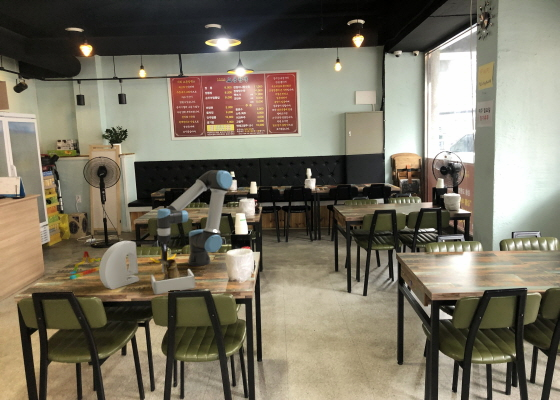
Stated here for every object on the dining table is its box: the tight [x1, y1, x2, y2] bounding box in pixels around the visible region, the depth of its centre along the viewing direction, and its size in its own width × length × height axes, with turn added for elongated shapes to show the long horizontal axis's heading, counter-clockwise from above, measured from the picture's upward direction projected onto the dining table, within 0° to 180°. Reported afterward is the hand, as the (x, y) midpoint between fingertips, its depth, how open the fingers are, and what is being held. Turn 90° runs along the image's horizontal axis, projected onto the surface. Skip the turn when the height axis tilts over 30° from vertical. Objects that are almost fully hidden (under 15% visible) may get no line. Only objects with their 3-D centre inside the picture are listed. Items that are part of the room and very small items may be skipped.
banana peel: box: [149, 250, 177, 264], centre depth 298 cm, size 17×19×17 cm
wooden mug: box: [157, 258, 180, 280], centre depth 253 cm, size 9×14×18 cm, turn 158°
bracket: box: [98, 240, 140, 290], centre depth 251 cm, size 7×21×25 cm, turn 142°
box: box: [150, 268, 196, 295], centre depth 244 cm, size 22×15×7 cm
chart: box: [69, 250, 102, 280], centre depth 280 cm, size 30×3×15 cm, turn 154°
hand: (164, 272), depth 260 cm, fingers closed
